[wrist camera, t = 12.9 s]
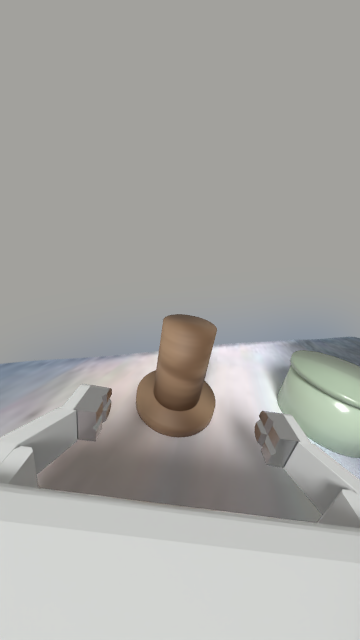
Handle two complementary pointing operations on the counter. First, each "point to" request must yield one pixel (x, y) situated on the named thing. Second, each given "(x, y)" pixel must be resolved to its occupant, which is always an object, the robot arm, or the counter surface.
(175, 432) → the lid
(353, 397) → the canister
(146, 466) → the counter surface
